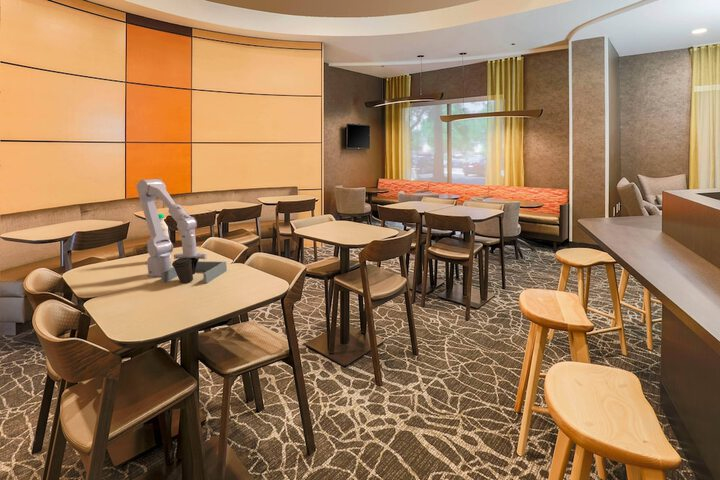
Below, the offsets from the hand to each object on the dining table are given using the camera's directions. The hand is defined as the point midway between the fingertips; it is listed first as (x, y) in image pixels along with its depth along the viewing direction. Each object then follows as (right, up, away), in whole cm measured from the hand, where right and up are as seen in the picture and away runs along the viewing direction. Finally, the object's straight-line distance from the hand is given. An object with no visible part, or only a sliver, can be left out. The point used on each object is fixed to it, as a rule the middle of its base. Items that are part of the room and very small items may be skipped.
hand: (192, 274), depth 182 cm
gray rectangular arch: (0, -1, +3) cm, 3 cm away
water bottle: (-29, +4, +33) cm, 44 cm away
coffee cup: (-1, -2, -4) cm, 5 cm away
